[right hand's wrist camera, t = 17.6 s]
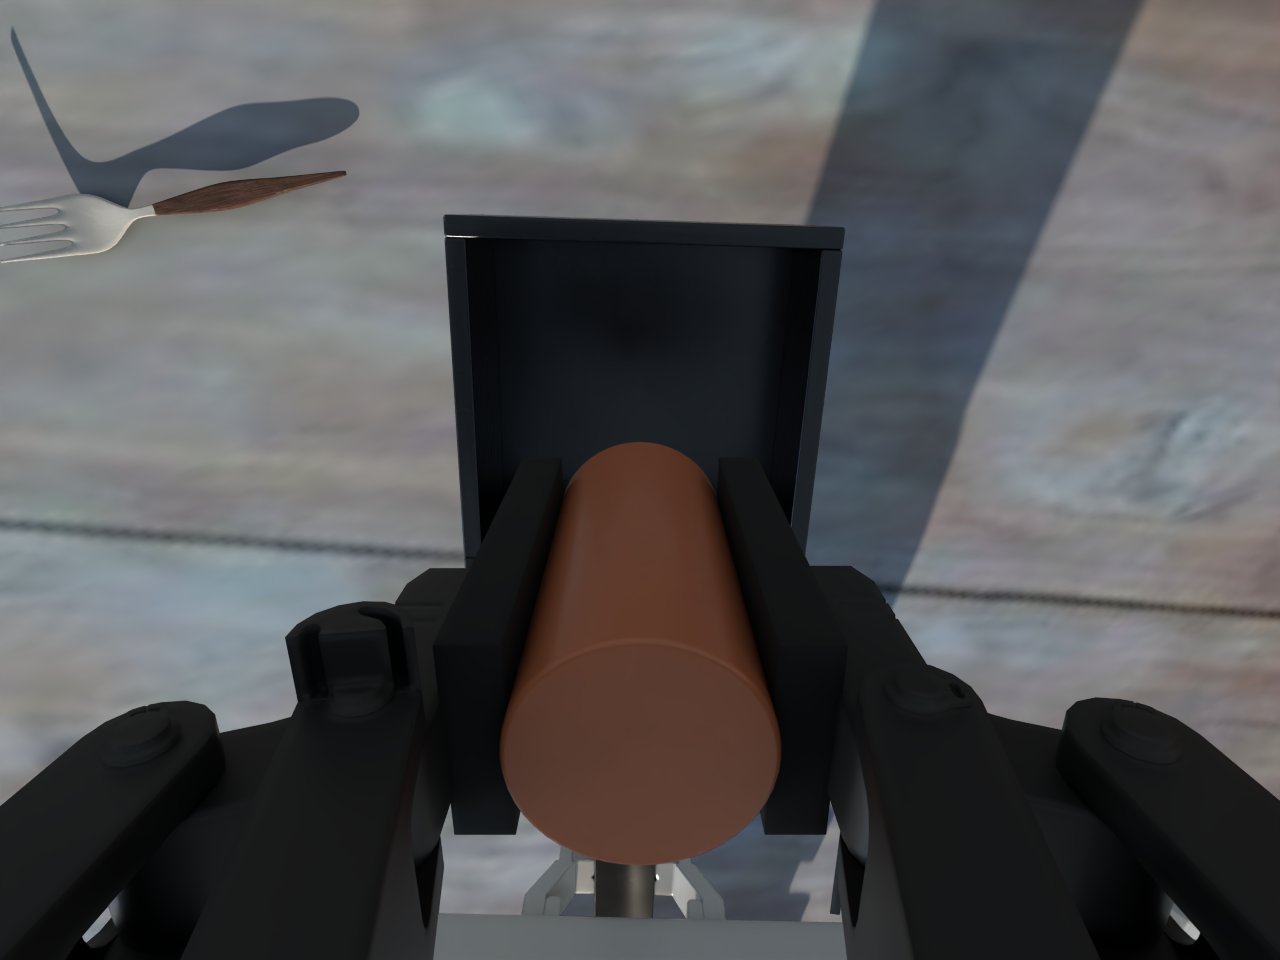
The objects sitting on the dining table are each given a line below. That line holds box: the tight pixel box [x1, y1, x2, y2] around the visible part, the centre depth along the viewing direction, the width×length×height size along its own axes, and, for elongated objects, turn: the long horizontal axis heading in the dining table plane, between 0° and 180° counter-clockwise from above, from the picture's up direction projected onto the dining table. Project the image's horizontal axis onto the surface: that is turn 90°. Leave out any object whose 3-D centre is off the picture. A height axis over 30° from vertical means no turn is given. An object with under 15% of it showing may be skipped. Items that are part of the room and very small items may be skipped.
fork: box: [0, 171, 346, 263], centre depth 32 cm, size 3×16×2 cm, turn 100°
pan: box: [443, 215, 845, 918], centre depth 27 cm, size 29×11×5 cm, turn 178°
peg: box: [499, 442, 782, 865], centre depth 11 cm, size 3×3×7 cm
